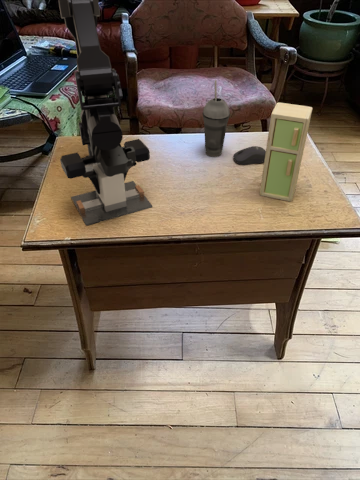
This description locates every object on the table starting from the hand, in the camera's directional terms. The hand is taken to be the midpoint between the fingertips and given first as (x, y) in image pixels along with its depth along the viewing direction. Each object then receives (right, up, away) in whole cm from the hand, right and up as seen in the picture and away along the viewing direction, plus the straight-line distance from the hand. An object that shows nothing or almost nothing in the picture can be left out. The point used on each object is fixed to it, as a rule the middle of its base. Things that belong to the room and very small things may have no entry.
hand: (109, 190), depth 95 cm
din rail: (0, -3, +2) cm, 3 cm away
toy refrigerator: (+40, 0, +6) cm, 41 cm away
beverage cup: (+26, +13, +21) cm, 36 cm away
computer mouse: (+36, +10, +18) cm, 41 cm away
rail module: (0, -2, +2) cm, 3 cm away
